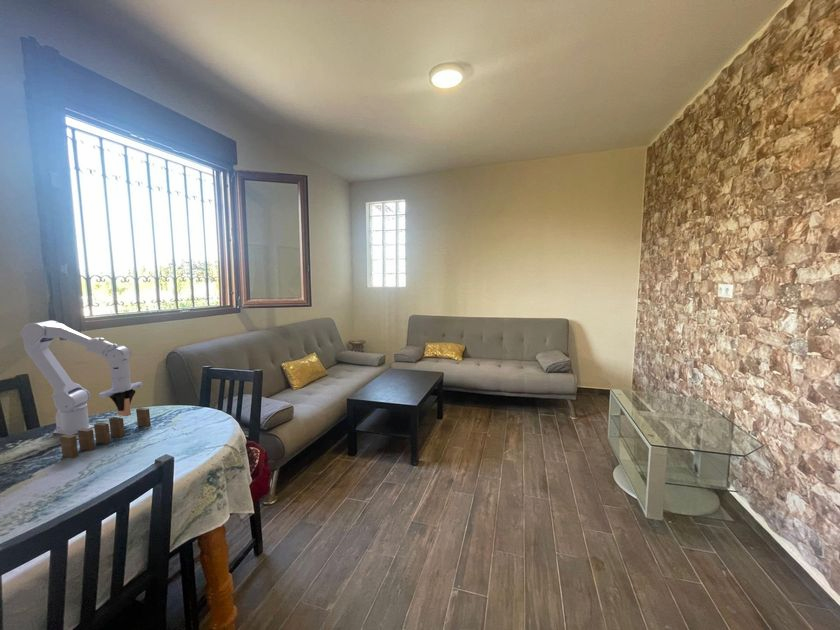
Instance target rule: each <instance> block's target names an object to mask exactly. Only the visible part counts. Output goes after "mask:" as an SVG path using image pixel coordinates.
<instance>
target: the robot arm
mask: <svg viewBox="0 0 840 630" xmlns="http://www.w3.org/2000/svg"><path fill="white" fill-rule="evenodd" d="M19 336H20V337H21V338H22V340H23V349H24V352H26V354H27V356H29V358H30V359H31V361H32V362H33V363H34V365H35V366H36V367H37V369H38V370H39V372H40V373H41V374H42V376H43V377H44V379H45V380H46V382H47V383H48V384H49V385H50V386H51V388H52V389H53V393H52V394H51V398H52V400H53V402H54V403H53V404H54V408H55V409H56V410H57V412H56V413H55V416H54V417H55V425H56V430H55V431H54V432H53V433H54V434H60V435H66V434H67V435H74V436H75V435H76V434H77V435H78V430H79V429H82V428H86V429H94V424H90V421H89V412H88V411H89V410H88V401H90V398H91V393H90V392H89V390H88V389H86V388H84V387H82V385H81V384H80V383H76V382H75V381H73V380H72V378H71V377H70V376H69V374H68V373H67V372H66V371H65V369H64V368H63V366H62V365H61V364H60V362H59V360H58V359H57V358H56V357H55V355H54V354H53V353H52V351H51V350H50V348H49V346H50V345H51V343H52V342H53V340H55V339H58V338H60V339H63V340H67V341H70V342H73V343H76V344H79V345H82V346H84V347H85V350H86V351H88V352H90V353H92V354H96V355H98V356H99V357H103V358H105V361H106V362H108V363H109V369H110V378H111V379H110V380H111V388H110V389H107V390H104V391H102V392H99V393H98V396H99V399H106V398H108V397H109V398H110V399H111V400H112V401H113V403H114V404H115V406H116V409H117V408H118V411H123V410H124V398H129V401H130V405H131V403H132V400H133V397H134V396H135V394H136V389H138V388H142V387H144V384H143V382H142V381H138V382H137V381H136V382H133V383H131V380H132V379H131V370H130V360H129V358H130V357H131V356H132V351H131V349H130V348H129V347H128V346H126V345H119V344H117V343H113V342H110V341H107V340H106V338H104V337H93V338H91V337H90V336H87V335H85V334H83V333H82V332H79V331H77V330H76V329H75V330H74V329H72V328H71V327H69V326H67V325H65V323H61V322H58V321H56V320H52V319H49V320H45V321H40V322H30V323H27V324H25V325H23V327H22V329H21V331H20V332H19Z"/></svg>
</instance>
